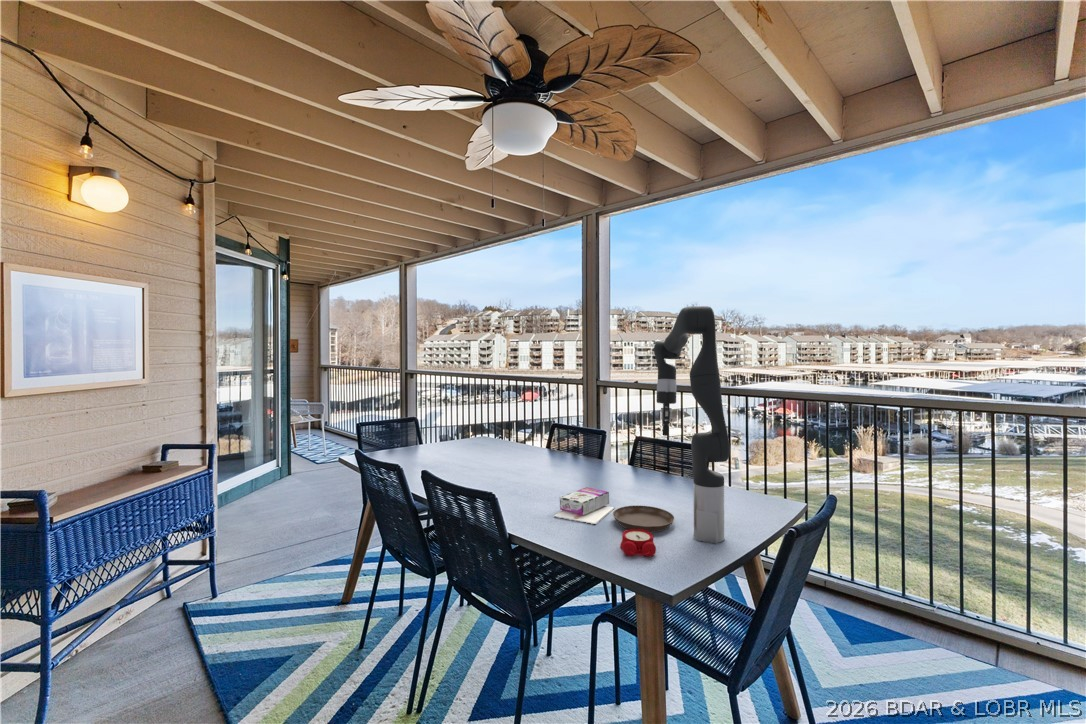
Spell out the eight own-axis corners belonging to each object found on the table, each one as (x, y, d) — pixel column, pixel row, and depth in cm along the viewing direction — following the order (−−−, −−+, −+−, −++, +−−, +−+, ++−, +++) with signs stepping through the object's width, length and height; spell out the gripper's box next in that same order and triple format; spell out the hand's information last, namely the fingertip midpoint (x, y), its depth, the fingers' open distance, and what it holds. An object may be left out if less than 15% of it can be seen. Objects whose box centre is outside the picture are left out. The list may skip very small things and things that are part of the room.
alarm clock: (652, 528, 148) (658, 536, 133) (653, 549, 147) (659, 560, 132) (619, 527, 149) (621, 535, 134) (619, 548, 148) (622, 558, 133)
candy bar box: (587, 499, 186) (559, 510, 174) (586, 486, 186) (558, 496, 174) (610, 504, 178) (582, 516, 167) (609, 491, 178) (582, 502, 167)
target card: (595, 525, 160) (595, 523, 160) (554, 517, 168) (554, 515, 168) (614, 508, 176) (614, 507, 176) (575, 502, 184) (575, 500, 184)
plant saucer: (648, 510, 175) (648, 501, 175) (687, 529, 156) (687, 519, 156) (601, 519, 166) (601, 510, 166) (637, 540, 148) (637, 530, 147)
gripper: (656, 392, 192) (655, 434, 190) (657, 389, 179) (656, 435, 177) (675, 392, 190) (674, 436, 188) (677, 390, 178) (676, 436, 175)
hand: (665, 435), depth 183 cm, fingers closed
